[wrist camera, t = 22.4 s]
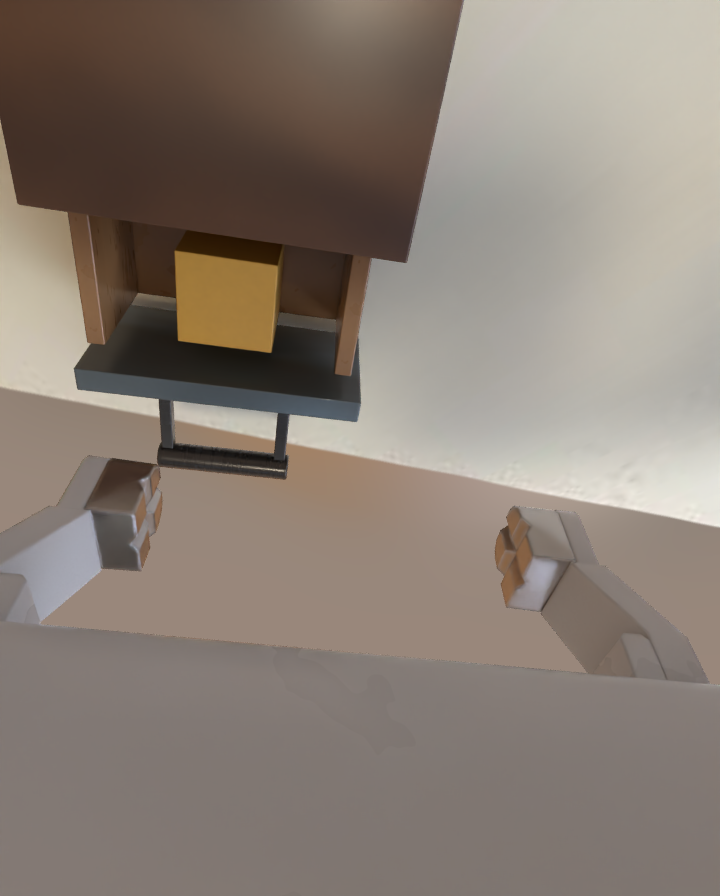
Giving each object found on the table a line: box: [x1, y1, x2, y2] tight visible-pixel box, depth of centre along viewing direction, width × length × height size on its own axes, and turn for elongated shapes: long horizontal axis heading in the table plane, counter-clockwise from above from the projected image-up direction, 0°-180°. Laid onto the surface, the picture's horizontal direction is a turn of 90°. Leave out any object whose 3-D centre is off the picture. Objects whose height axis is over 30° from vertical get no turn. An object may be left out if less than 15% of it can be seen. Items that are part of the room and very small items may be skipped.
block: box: [174, 230, 285, 353], centre depth 28 cm, size 4×4×4 cm
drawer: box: [68, 212, 372, 480], centre depth 28 cm, size 20×13×7 cm
